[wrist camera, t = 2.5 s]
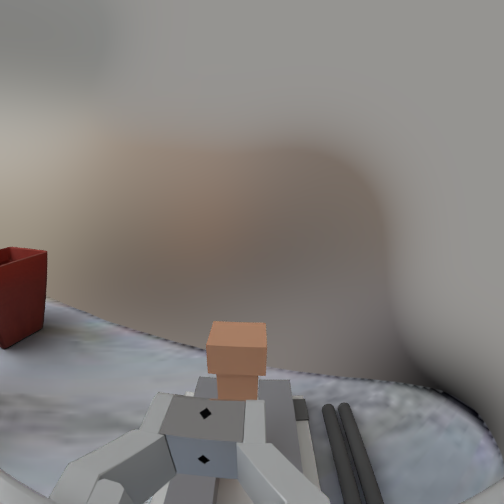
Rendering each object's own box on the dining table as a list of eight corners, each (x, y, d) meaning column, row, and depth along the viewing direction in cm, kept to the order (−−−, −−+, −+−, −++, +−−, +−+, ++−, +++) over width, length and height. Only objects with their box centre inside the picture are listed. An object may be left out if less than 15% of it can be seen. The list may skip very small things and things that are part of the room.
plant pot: (21, 308, 55) (10, 245, 51) (62, 325, 51) (49, 250, 47) (-31, 334, 37) (-49, 263, 33) (0, 362, 33) (-25, 274, 29)
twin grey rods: (349, 535, 14) (353, 530, 14) (320, 410, 33) (322, 401, 33) (386, 526, 14) (392, 520, 14) (347, 407, 33) (349, 399, 33)
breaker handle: (218, 474, 22) (206, 345, 18) (221, 449, 25) (213, 321, 22) (258, 476, 22) (267, 347, 18) (258, 451, 25) (265, 322, 22)
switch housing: (141, 546, 12) (128, 534, 11) (186, 396, 36) (183, 375, 35) (329, 556, 12) (341, 546, 11) (302, 400, 35) (306, 379, 34)
